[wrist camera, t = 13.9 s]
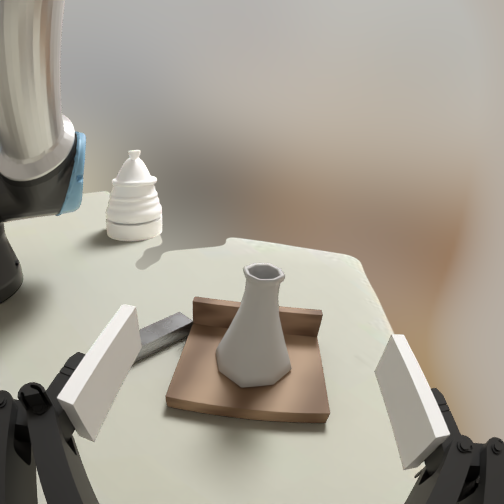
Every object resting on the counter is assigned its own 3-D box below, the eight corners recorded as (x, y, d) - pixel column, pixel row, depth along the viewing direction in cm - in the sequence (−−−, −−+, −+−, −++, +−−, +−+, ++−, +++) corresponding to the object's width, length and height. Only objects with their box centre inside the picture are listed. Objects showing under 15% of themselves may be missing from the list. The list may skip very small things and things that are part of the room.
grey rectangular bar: (110, 358, 27) (106, 344, 26) (180, 325, 34) (179, 311, 34) (121, 371, 26) (117, 357, 25) (193, 334, 33) (193, 321, 32)
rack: (167, 406, 23) (161, 372, 21) (195, 328, 34) (194, 296, 32) (325, 422, 22) (339, 391, 20) (313, 341, 33) (321, 310, 32)
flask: (203, 349, 28) (204, 258, 24) (264, 332, 32) (275, 248, 28) (237, 399, 23) (246, 303, 19) (304, 373, 26) (327, 283, 22)
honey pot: (166, 238, 60) (168, 151, 53) (106, 243, 54) (102, 153, 47) (158, 220, 70) (159, 147, 63) (107, 224, 65) (105, 150, 58)
